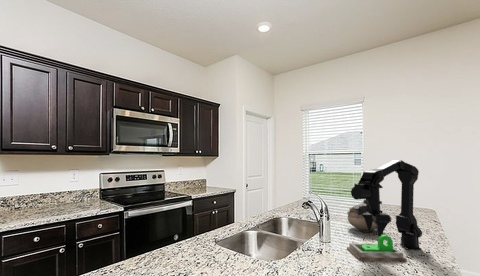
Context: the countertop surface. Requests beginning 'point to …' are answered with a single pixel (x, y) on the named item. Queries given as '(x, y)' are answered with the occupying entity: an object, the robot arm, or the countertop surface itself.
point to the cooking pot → (358, 221)
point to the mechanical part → (380, 245)
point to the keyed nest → (374, 253)
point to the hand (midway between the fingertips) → (373, 233)
